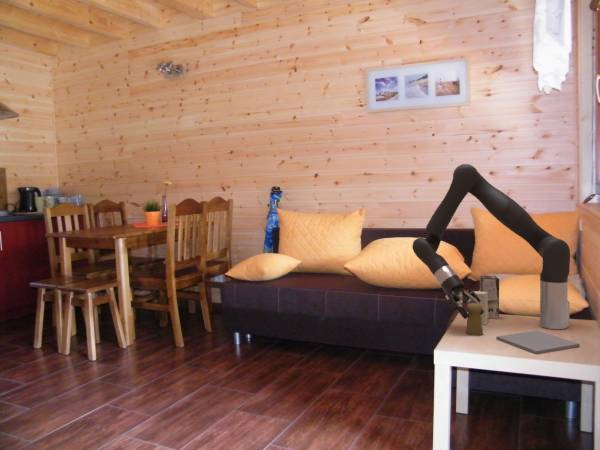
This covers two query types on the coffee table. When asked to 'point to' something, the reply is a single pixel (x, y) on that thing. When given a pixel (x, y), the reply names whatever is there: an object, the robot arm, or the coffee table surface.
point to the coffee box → (491, 294)
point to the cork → (474, 320)
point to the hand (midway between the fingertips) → (474, 315)
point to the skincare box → (483, 305)
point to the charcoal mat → (537, 342)
